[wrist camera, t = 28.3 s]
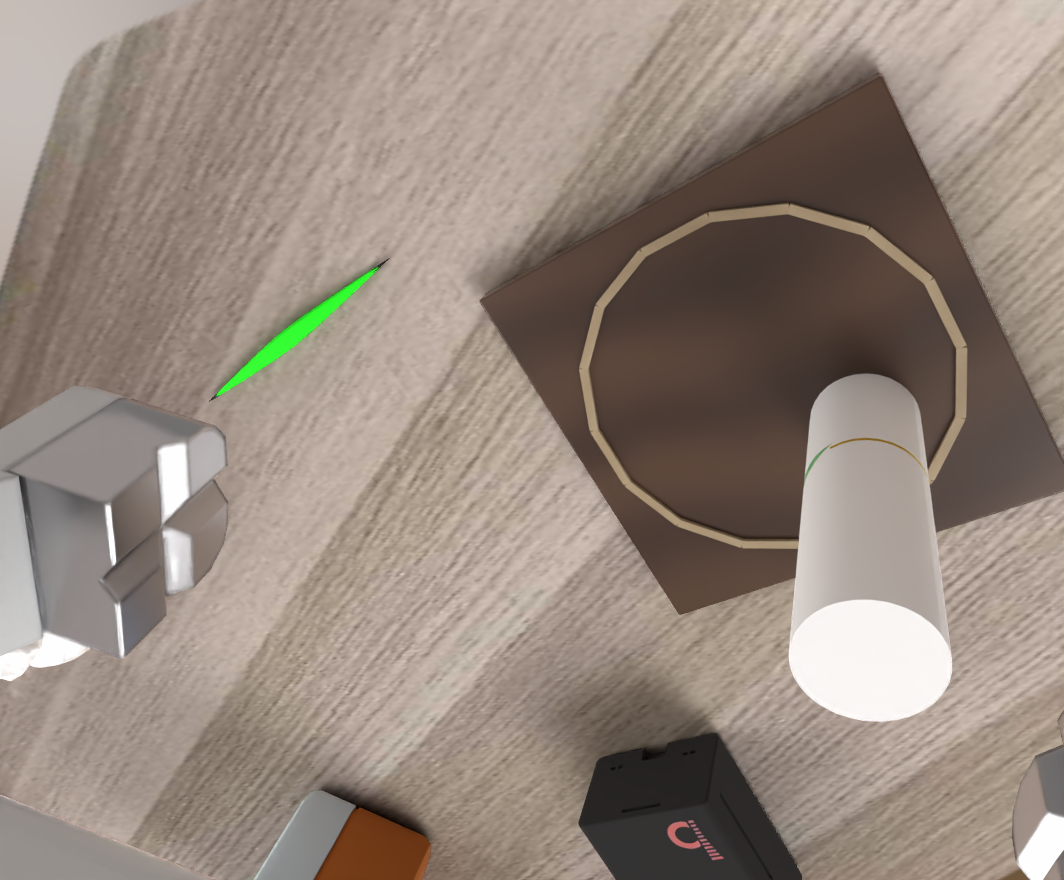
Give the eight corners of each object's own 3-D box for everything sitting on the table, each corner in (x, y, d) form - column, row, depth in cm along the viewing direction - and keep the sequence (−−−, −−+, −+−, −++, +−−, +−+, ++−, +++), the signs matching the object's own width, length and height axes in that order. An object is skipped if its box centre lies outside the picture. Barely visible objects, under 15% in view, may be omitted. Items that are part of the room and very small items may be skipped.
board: (485, 293, 43) (476, 302, 42) (881, 70, 34) (882, 75, 33) (682, 603, 47) (678, 618, 46) (1071, 475, 39) (1077, 490, 38)
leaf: (206, 392, 50) (197, 398, 49) (387, 246, 43) (380, 251, 43) (218, 406, 50) (209, 412, 50) (400, 263, 43) (392, 268, 43)
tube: (884, 354, 38) (898, 576, 25) (941, 437, 39) (983, 691, 26) (789, 406, 40) (758, 634, 27) (846, 483, 41) (842, 739, 28)
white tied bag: (170, 484, 57) (-45, 484, 48) (206, 595, 53) (-18, 616, 45) (99, 591, 63) (-102, 608, 55) (127, 696, 60) (-82, 731, 51)
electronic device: (683, 886, 57) (669, 964, 53) (598, 755, 54) (576, 826, 50) (803, 869, 53) (798, 951, 49) (719, 728, 50) (706, 803, 46)
